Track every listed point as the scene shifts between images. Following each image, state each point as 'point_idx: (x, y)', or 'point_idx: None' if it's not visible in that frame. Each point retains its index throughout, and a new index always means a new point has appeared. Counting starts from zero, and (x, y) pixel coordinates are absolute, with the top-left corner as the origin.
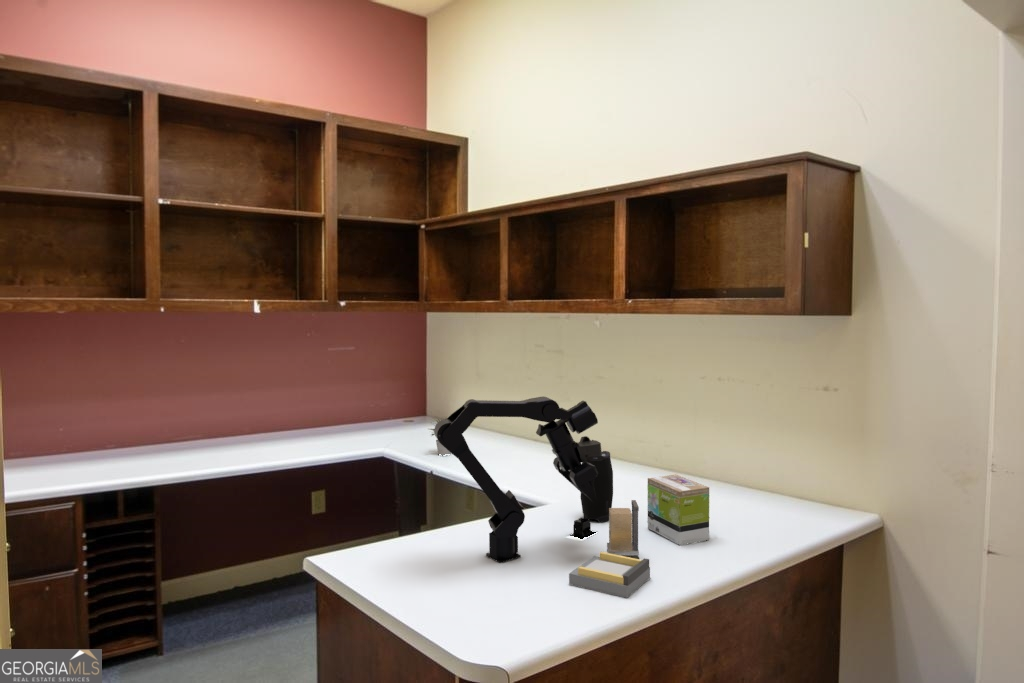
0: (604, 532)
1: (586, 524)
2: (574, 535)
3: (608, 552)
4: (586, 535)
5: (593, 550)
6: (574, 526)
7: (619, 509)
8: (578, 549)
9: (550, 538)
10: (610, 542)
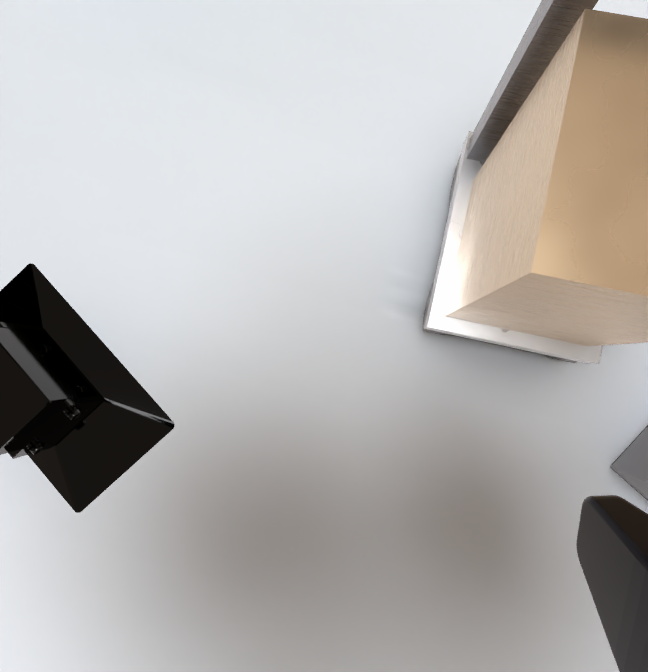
0: (42, 233)
1: (33, 363)
2: (74, 445)
3: (541, 353)
4: (89, 367)
5: (346, 396)
6: (26, 450)
7: (629, 155)
8: (311, 483)
9: (79, 607)
10: (567, 336)
